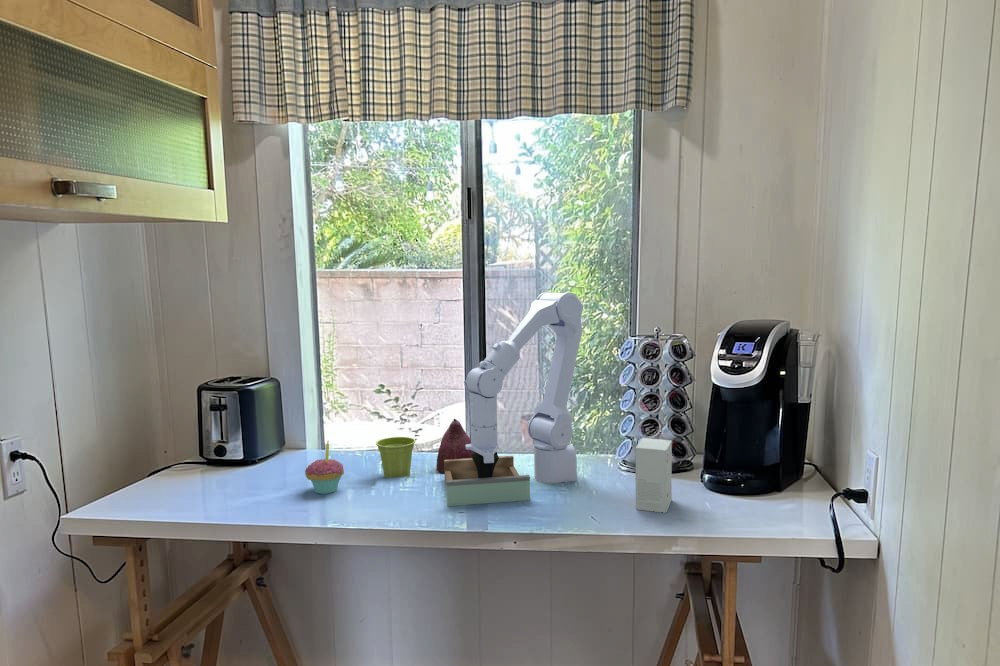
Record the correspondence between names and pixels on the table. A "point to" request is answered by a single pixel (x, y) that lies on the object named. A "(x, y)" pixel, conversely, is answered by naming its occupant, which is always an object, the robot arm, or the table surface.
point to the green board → (488, 490)
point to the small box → (653, 475)
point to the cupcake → (325, 474)
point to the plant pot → (396, 456)
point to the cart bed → (467, 469)
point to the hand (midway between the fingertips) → (485, 486)
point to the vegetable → (453, 445)
